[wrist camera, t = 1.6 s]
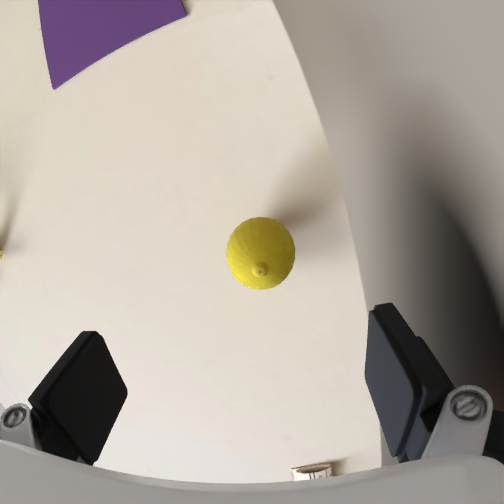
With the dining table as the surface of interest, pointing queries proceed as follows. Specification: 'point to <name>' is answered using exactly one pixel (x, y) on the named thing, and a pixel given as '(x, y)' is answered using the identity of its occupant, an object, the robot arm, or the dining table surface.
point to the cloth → (96, 29)
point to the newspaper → (312, 472)
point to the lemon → (260, 253)
